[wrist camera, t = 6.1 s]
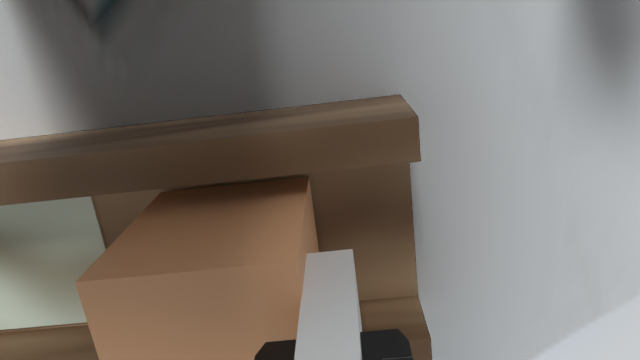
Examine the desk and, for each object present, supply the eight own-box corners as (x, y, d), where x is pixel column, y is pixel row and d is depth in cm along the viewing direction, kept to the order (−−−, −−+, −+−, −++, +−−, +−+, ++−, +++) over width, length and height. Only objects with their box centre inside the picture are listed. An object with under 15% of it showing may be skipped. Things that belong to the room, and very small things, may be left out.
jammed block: (160, 192, 20) (74, 282, 13) (308, 176, 20) (296, 261, 13) (186, 299, 21) (120, 428, 15) (323, 287, 21) (319, 413, 14)
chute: (-107, 152, 22) (-216, 187, 17) (400, 94, 20) (418, 116, 16) (-28, 344, 25) (-104, 414, 20) (414, 305, 23) (432, 371, 19)
